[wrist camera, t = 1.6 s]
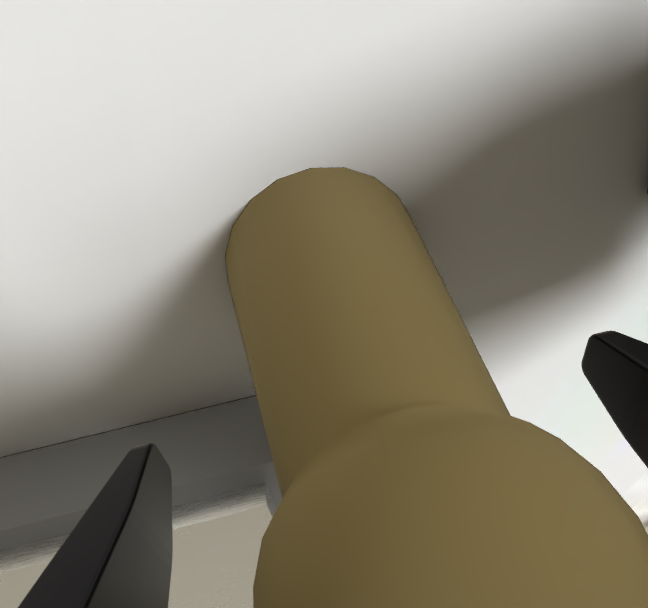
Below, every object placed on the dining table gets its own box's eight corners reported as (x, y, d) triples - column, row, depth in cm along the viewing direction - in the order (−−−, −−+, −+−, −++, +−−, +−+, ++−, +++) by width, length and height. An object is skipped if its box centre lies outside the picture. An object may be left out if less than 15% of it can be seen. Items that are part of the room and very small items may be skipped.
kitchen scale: (279, 390, 16) (291, 480, 13) (326, 541, 23) (341, 622, 20) (-73, 475, 15) (-150, 593, 12) (91, 604, 22) (69, 698, 19)
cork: (354, 356, 16) (515, 804, 7) (195, 307, 13) (125, 907, 4) (452, 219, 13) (918, 652, 4) (277, 126, 11) (517, 696, 2)
